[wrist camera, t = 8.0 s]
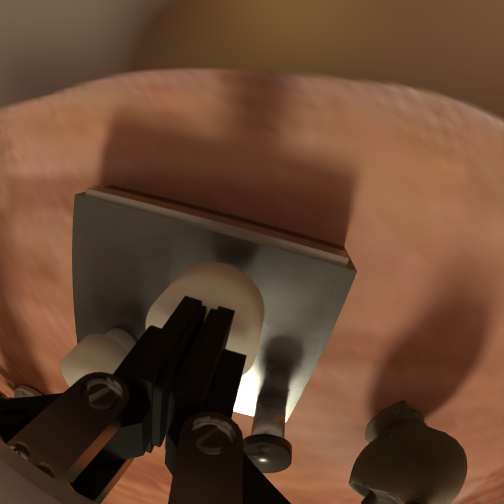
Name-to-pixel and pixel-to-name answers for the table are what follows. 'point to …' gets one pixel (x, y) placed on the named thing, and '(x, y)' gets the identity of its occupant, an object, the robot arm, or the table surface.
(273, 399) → the dark brown round knob
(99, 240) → the mount
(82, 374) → the knob
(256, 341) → the knob
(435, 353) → the table surface
